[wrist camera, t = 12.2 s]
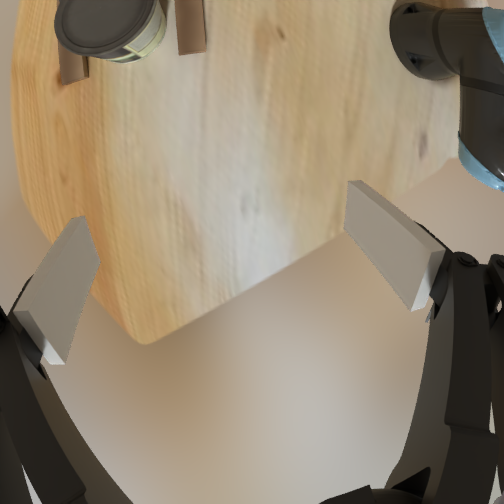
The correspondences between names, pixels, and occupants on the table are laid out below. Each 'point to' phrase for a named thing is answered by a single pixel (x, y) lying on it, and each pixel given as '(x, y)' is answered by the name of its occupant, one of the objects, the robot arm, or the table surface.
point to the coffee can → (110, 28)
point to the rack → (187, 35)
